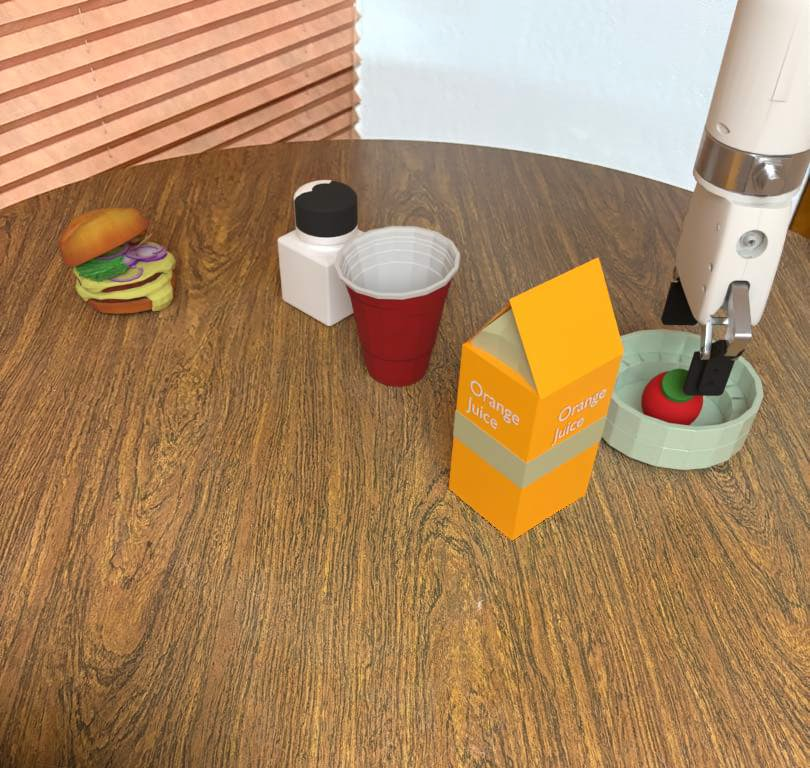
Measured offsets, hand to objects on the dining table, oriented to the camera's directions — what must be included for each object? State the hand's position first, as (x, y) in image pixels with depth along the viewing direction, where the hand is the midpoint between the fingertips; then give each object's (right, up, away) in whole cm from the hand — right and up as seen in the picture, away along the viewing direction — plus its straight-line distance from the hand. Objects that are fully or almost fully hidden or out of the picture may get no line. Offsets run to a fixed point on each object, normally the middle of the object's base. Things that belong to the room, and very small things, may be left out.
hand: (689, 356), depth 73 cm
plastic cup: (-25, +1, +9) cm, 27 cm away
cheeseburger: (-53, +10, +16) cm, 57 cm away
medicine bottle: (-32, +9, +16) cm, 37 cm away
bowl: (-1, -5, +5) cm, 7 cm away
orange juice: (-15, -12, -2) cm, 19 cm away
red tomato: (-1, -4, +4) cm, 6 cm away
